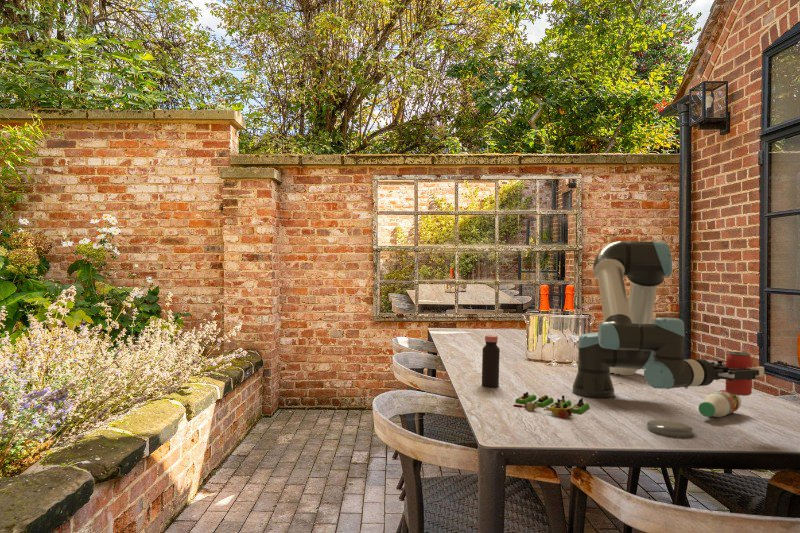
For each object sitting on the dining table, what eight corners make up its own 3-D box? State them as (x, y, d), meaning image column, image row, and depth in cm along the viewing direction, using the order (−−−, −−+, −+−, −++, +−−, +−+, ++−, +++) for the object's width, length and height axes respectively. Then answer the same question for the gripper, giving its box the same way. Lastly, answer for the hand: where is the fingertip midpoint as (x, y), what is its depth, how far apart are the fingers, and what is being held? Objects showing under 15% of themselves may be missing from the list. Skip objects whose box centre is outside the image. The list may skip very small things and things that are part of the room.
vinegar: (498, 384, 218) (499, 335, 218) (499, 388, 211) (500, 337, 211) (481, 383, 218) (482, 334, 218) (482, 387, 212) (483, 336, 212)
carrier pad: (649, 434, 155) (649, 429, 155) (645, 423, 166) (645, 418, 166) (696, 439, 151) (696, 434, 151) (688, 427, 162) (688, 423, 162)
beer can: (727, 389, 163) (728, 350, 163) (752, 393, 159) (753, 353, 159) (723, 393, 158) (724, 352, 158) (750, 397, 154) (751, 355, 154)
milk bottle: (730, 416, 183) (706, 426, 171) (711, 398, 188) (687, 407, 175) (747, 402, 179) (724, 412, 167) (728, 384, 184) (704, 392, 171)
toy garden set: (589, 409, 184) (589, 395, 184) (572, 421, 168) (573, 407, 168) (525, 398, 197) (526, 386, 197) (504, 409, 181) (505, 395, 181)
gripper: (665, 378, 161) (720, 375, 169) (725, 393, 143) (783, 388, 151) (666, 354, 161) (721, 351, 169) (725, 365, 143) (784, 362, 151)
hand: (750, 369), depth 160 cm, fingers closed on beer can, 6 cm apart
